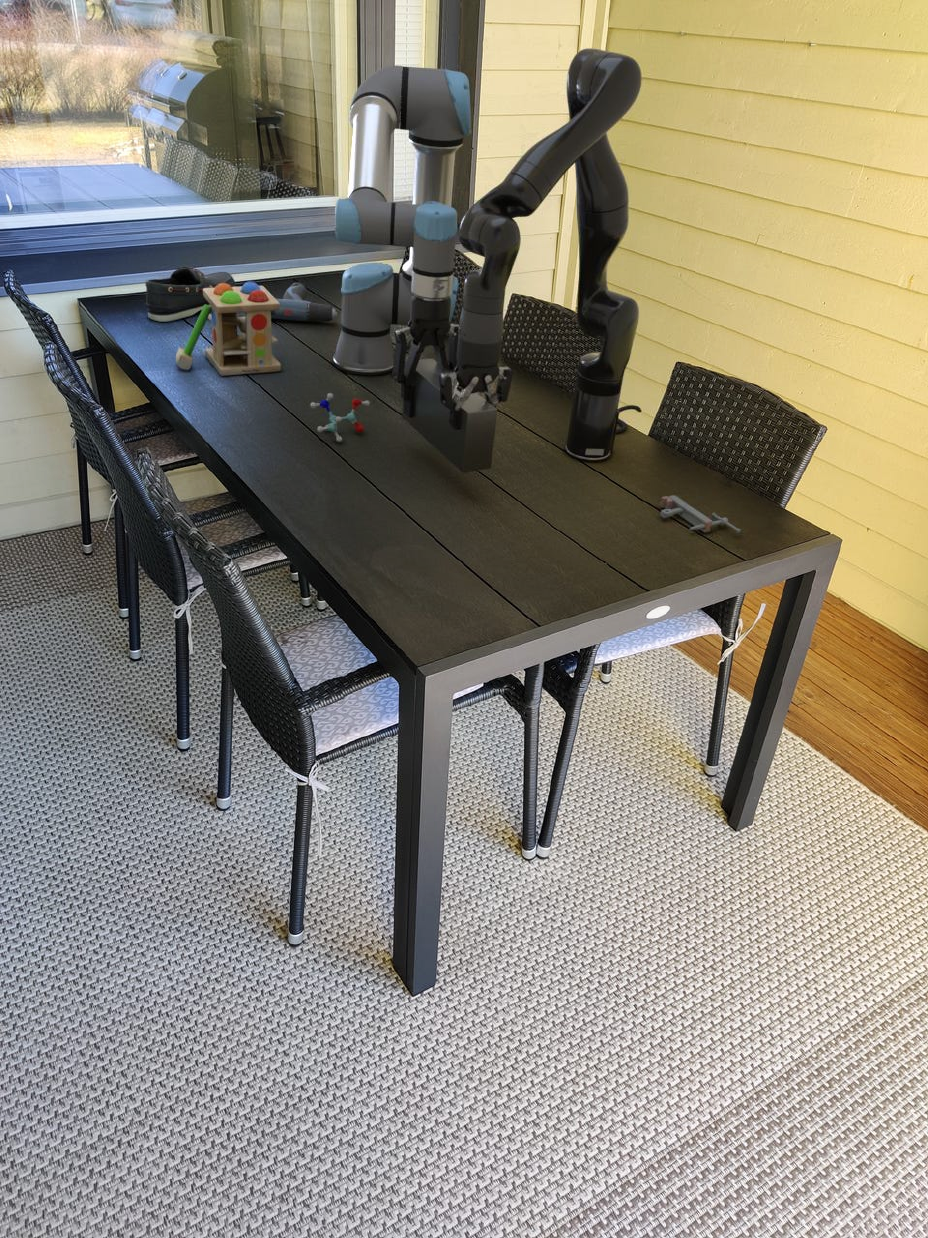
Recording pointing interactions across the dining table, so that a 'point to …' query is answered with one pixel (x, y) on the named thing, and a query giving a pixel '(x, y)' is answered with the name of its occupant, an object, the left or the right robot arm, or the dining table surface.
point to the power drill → (301, 307)
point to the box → (432, 422)
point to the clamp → (672, 508)
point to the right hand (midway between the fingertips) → (471, 425)
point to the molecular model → (335, 420)
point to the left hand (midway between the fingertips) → (423, 412)
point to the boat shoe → (181, 293)
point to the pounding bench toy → (229, 347)
